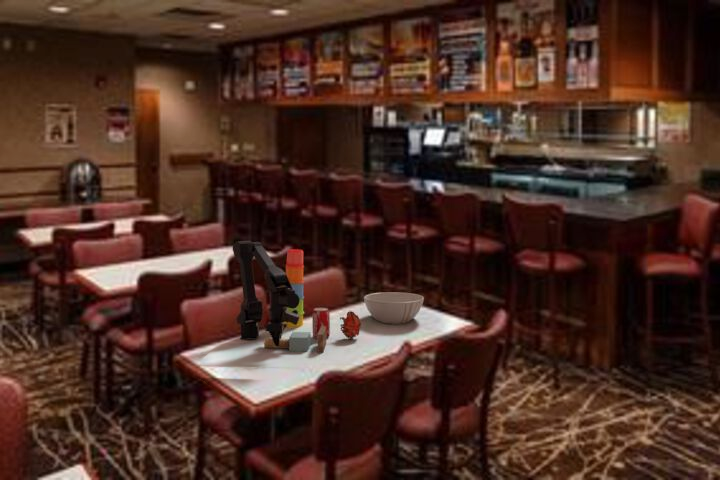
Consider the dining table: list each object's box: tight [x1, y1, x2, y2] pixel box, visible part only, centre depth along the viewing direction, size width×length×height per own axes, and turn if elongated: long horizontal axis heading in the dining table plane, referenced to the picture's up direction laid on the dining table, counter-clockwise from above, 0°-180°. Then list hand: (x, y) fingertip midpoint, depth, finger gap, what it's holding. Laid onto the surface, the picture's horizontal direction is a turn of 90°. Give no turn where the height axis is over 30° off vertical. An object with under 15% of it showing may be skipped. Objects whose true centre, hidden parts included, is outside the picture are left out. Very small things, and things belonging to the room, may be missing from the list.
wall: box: [317, 326, 327, 354], centre depth 261 cm, size 2×14×7 cm, turn 178°
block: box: [288, 331, 311, 352], centre depth 261 cm, size 7×9×5 cm
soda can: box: [311, 307, 331, 340], centre depth 278 cm, size 7×7×12 cm
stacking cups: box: [284, 248, 305, 329], centre depth 293 cm, size 10×10×35 cm
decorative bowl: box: [363, 291, 425, 325], centre depth 304 cm, size 27×27×12 cm
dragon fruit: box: [339, 309, 362, 340], centre depth 275 cm, size 8×8×12 cm
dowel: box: [263, 338, 289, 349], centre depth 262 cm, size 10×4×4 cm, turn 88°
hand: (277, 344), depth 262 cm, fingers closed on dowel, 4 cm apart
